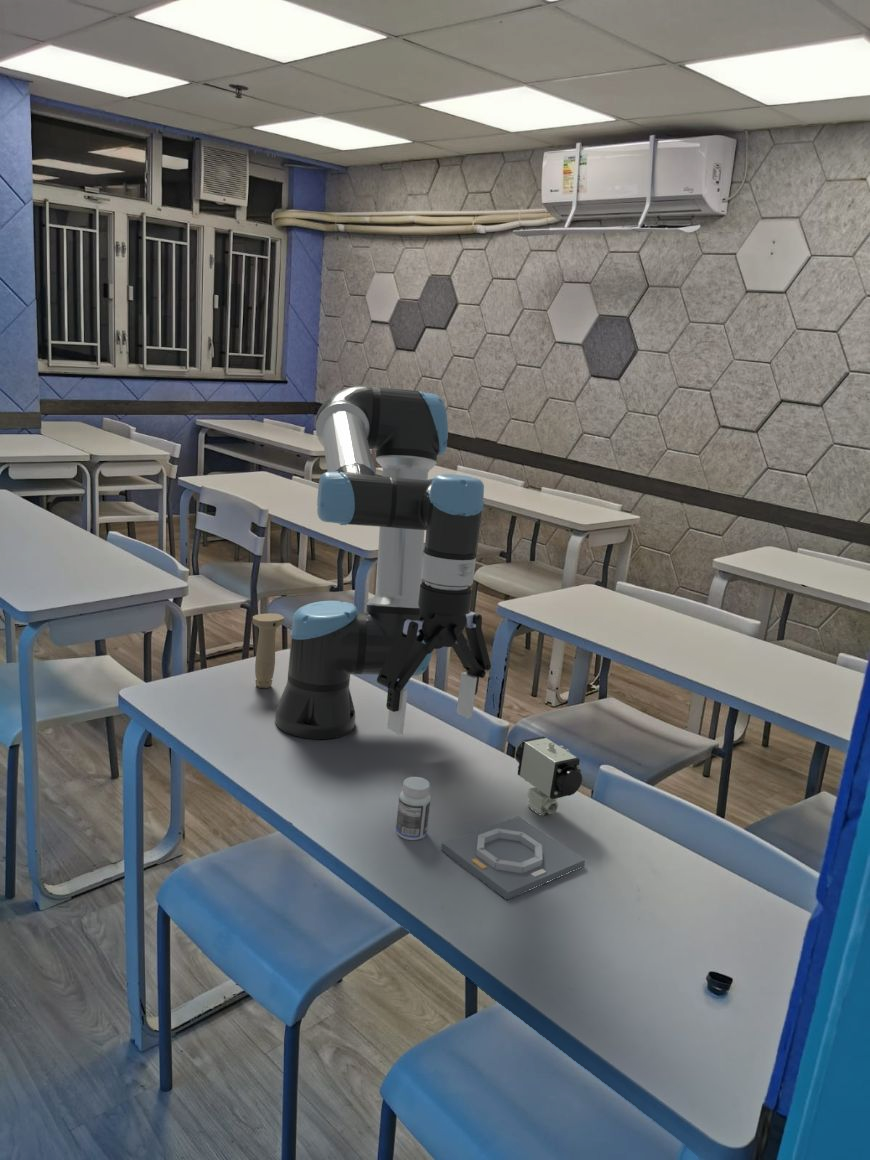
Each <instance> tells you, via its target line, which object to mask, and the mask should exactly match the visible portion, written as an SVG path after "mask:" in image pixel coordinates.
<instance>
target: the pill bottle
mask: <svg viewBox="0 0 870 1160" xmlns="http://www.w3.org/2000/svg"><path fill="white" fill-rule="evenodd" d="M402 783H403V784H402V791H401V792H400V793H399V796H398V806H397V807H398V808H397V815H396V823H395V824H396V825H395V826H396V827H395V833H396V834H397V835H398V837H400V838H403V839H404V840H408V841H418V840H421V839H423V838H424V837H426V835H427V831H428V824H429V818H430V817H429V815H430V807H431V795H430V788H431V786H430V785H431V784H430V781H428V780H427V779H426V778H424V777H420V776H408V777H407V778H405V779H404V780H403V782H402Z"/></svg>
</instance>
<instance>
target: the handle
mask: <svg viewBox="0 0 870 1160" xmlns="http://www.w3.org/2000/svg"><path fill="white" fill-rule="evenodd" d="M284 622H285V616H283V615H282V614H280V613H271V612H269V613H259V614H255V615H253V616H252V624H253V625H254V626H255V627H258V639H257V648H256V654H255V665H254V666H255V667H254V671H255V686H256V687H258V688H259V689H268V688H270V687H271V686H272V685H273V678H274V673H275V667H276V636H277V635H276V634H277V633H276V632H277V628H279V627H280V626H282V625H283V624H284Z"/></svg>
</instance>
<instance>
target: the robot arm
mask: <svg viewBox="0 0 870 1160" xmlns="http://www.w3.org/2000/svg"><path fill="white" fill-rule="evenodd" d="M447 415H448V414H447V410H446V406H445V403H444V401H443V400H442V398H441V397H440V396H439V395H437V394H434V393H430V392H424V391H420V390H411V389H409V390H408V389H402V388H401V389H400V388H388V387H379V386H378V387H377V386H372V385H355V386H349V387H347V388H344V389H341V390H339V391H337V392H335V393H333V394H332V395H331V396H329V397H328V398H327V399H326V400H325V401H324V402H323V403H322V405H321V406H320V408H319V409H318V411H317V413H316V416H315V433H316V437H317V440H318V441H319V443H320V444H321V445H322V447H323V451H324V455H325V464H326V470H327V471H326V472H323V473H322V474H321V475H320V477H319V481H318V486H317V487H318V490H317V500H316V501H317V502H316V504H317V506H316V507H317V511H316V512H317V516H318V518H319V519H320V520H321V521H322V522H324V523H333V524H338V525H340V526H348V525H349V526H366V527H379V533H378V534H379V535H378V549H377V550H378V551H377V565H376V566H377V568H376V580H375V581H376V584H375V594H374V595H373V597H372V598H371V599H370V600H368V602H367V603H366V612H358V610H357V607H356V605H354V604H353V603H351V602H348V601H341V600H321V601H315V602H311V603H308V604H305V605H303V606H300V607H299V608H297V610H296V611H295V612H294V614H293V617H292V622H291V623H292V625H291V630H290V631H289V637H290V648H289V657H288V658H289V660H288V661H289V662H288V670H287V671H288V672H287V682H286V686H285V687H284V688H283V689H284V690H283V692H282V694H281V696H280V699H279V701H278V704H277V705H276V708H275V714H274V715H275V717H274V723H275V725H276V726H277V727H278V728H279V730H281V731H282V732H285V733H287V734H289V735H291V736H294V737H298V738H303V739H311V740H312V739H313V740H328V739H335V738H340V737H343V736H346V735H347V734H350V732H352V731H353V730H354V728H355V725H356V711H355V707H354V702H353V697H352V694H351V689H350V681H351V675H364V676H365V675H369V676H377V677H376V682H377V684H379V685H382V686H383V687H386V688H387V695H386V709H387V710H388V718H387V725H386V726H387V729H388V730H390V731H392V732H394V733H395V734H397V735H404V728H405V719H406V709H407V708H406V707H407V701H408V700H407V699H408V693H409V692H408V691H409V690H407V689H405V686H406V685H407V683H408V682H409V681H410V679H411V678H412V677H417V676H420V675H422V674H424V672H425V671H426V670H427V669H428V667H429V664H430V662H431V660H432V657H433V653H434V650H440V649H441V648H452V649H453V650H454V653H455V655H456V656H457V657H458V659H459V661H460V662H461V664H462V666H463V668H464V669H465V671H466V672H465V671H463V672H461V674H460V679H459V680H460V681H459V689H458V697H457V705H456V712H455V713H456V714H458V715H460V716H462V717H464V718H466V719H467V720H469V719H472V718H473V711H474V706H475V705H474V704H475V696H476V695H477V694H478V689H479V682H480V681H479V680H480V678H481V679H483V678H484V677H486V674H487V673H486V671H487V672H488V671H490V670H491V669H492V668H491V667H492V664H491V660H490V659H491V658H490V655H489V651H488V648H487V644H486V640H485V636H484V632H483V630H482V626H483V625H482V624H483V616H482V615H481V614H479V613H476V612H474V611H471V604H472V597H473V589H472V588H471V585H473V584H474V578H475V577H474V575H475V568H476V561H477V553H478V545H479V538H480V531H481V522H482V514H483V509H484V507H485V500H484V494H485V493H484V492H485V484H484V482H483V480H481V479H479V478H477V477H473V476H468V475H460V474H454V473H453V474H451V473H449V474H448V473H440V474H436V475H435V476H434V477H433V478H428V477H429V472H430V470H432V469H433V468H434V467H435V466H436V465H437V462H438V461H437V460H438V457H441V456H443V455H444V454H445V453H446V450H447V448H448V447H447V446H448V437H449V426H448V425H449V423H448V416H447ZM371 450H375V453H376V454H375V461H376V462H377V463H378V464H379V466H380V467H381V468H382V475H381V476H380V475H378V474H377V471H376V467H375V464H374V459H373V457H372V453H371V452H372V451H371ZM422 581H423V582H422ZM464 630H465V634H466V637H467V638H466V637H465V635H464V633H463V631H464Z"/></svg>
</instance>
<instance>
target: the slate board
mask: <svg viewBox="0 0 870 1160" xmlns="http://www.w3.org/2000/svg"><path fill="white" fill-rule="evenodd" d="M440 850H441V851H442V852H443V853H444V852H445V853H444V854H446V855H447V854H448V855H449V856H448V855H447V856H448V857H450V858H451V857H452V858H453V859H452V858H451V859H452V860H454V859H455V860H456V861H457V862H456V861H455V860H454V861H455V862H456V863H458V864H459V865H460V864H461V865H462V868H464V869H466V870H467V871H468V872H470V873H471V874H472V875H473V876H475V878H477V879H479V880H480V881H481V880H482V881H483V882H482V881H481V882H482V883H484V884H487V885H486V886H488V887H489V888H490V889H492V890H493V891H494V890H495V891H494V892H496V894H498V895H500V896H501V897H502V896H503V897H504V899H505V898H506V899H508V900H511V899H513V898H515V897H518V896H519V895H518V894H520V895H522V894H524V893H523V892H525V891H527V892H529V891H530V890H529V889H532V888H534V887H536V886H539V885H541V884H543V883H546V882H547V881H550V880H552V879H554V878H557V877H559V876H561V875H564V874H566V873H568V872H570V871H573V870H576V869H578V868H580V867H583V866H584V867H585V864H586V859H585V858H584V857H582V856H580V855H579V854H577V853H576V852H574V851H573V850H571V849H570V848H568V847H566V845H564V844H562V843H561V842H559V841H557V840H556V839H555V838H553V837H552V836H550V835H548V834H547V833H545V832H544V831H542V830H541V829H539V828H538V827H536V826H535V825H533V824H531V823H529V822H528V821H527V820H526V819H524V818H522V817H521V816H519V815H518V816H514V817H511V818H509V819H506V820H503V821H500V822H498V823H494V824H492V825H490V826H486V827H484V828H481V829H477V830H475V831H471V832H469V833H466V834H464V835H463V834H462V835H460V836H458V837H455V838H451V839H450V840H449V839H448V840H446V841H443V842H442V843H441V847H440ZM461 865H460V866H461ZM584 867H583V868H584ZM580 869H581V868H580ZM578 870H579V869H578ZM576 871H577V870H576ZM573 872H574V871H573ZM566 875H567V874H566ZM564 876H565V875H564ZM559 878H560V877H559ZM557 879H558V878H557ZM552 881H553V880H552ZM550 882H551V881H550ZM546 884H547V883H546ZM543 885H544V884H543ZM541 886H542V885H541ZM539 887H540V886H539ZM536 888H537V887H536ZM534 889H535V888H534ZM528 890H529V891H528ZM532 890H533V889H532ZM521 893H522V894H521ZM525 893H526V892H525ZM517 895H518V896H517ZM503 897H502V898H503ZM512 897H513V898H512ZM510 898H511V899H510ZM506 899H505V900H506Z"/></svg>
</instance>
